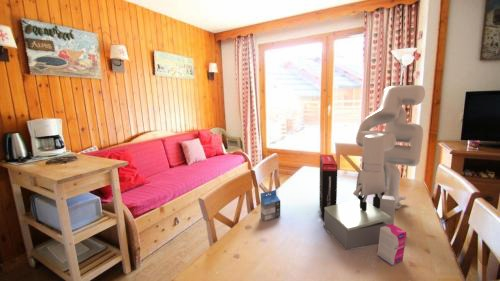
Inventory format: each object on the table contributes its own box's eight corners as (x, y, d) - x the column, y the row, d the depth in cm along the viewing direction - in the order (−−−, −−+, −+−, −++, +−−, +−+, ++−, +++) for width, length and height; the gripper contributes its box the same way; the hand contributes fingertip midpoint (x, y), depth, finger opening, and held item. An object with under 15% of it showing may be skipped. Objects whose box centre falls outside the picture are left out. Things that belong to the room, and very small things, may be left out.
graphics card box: (336, 221, 108) (339, 163, 103) (320, 220, 110) (322, 163, 105) (331, 204, 125) (333, 154, 120) (317, 204, 126) (319, 153, 121)
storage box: (360, 221, 108) (361, 205, 106) (387, 242, 92) (389, 224, 91) (323, 227, 104) (324, 210, 103) (345, 249, 89) (346, 230, 87)
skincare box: (391, 221, 108) (393, 196, 105) (393, 225, 104) (396, 200, 102) (376, 219, 110) (378, 194, 107) (377, 223, 106) (380, 198, 103)
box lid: (361, 200, 106) (361, 198, 106) (391, 219, 90) (391, 217, 90) (324, 209, 103) (324, 207, 103) (348, 230, 87) (348, 228, 87)
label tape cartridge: (264, 221, 110) (264, 196, 108) (260, 217, 113) (260, 193, 111) (280, 216, 114) (280, 192, 112) (276, 213, 117) (276, 189, 115)
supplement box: (392, 266, 80) (395, 235, 77) (376, 256, 85) (379, 226, 83) (403, 261, 82) (407, 231, 80) (387, 251, 87) (390, 222, 85)
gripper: (383, 161, 99) (380, 201, 103) (347, 165, 95) (345, 207, 99) (398, 166, 92) (394, 209, 96) (359, 171, 88) (357, 216, 92)
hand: (369, 208), depth 97 cm, fingers open, 5 cm apart
